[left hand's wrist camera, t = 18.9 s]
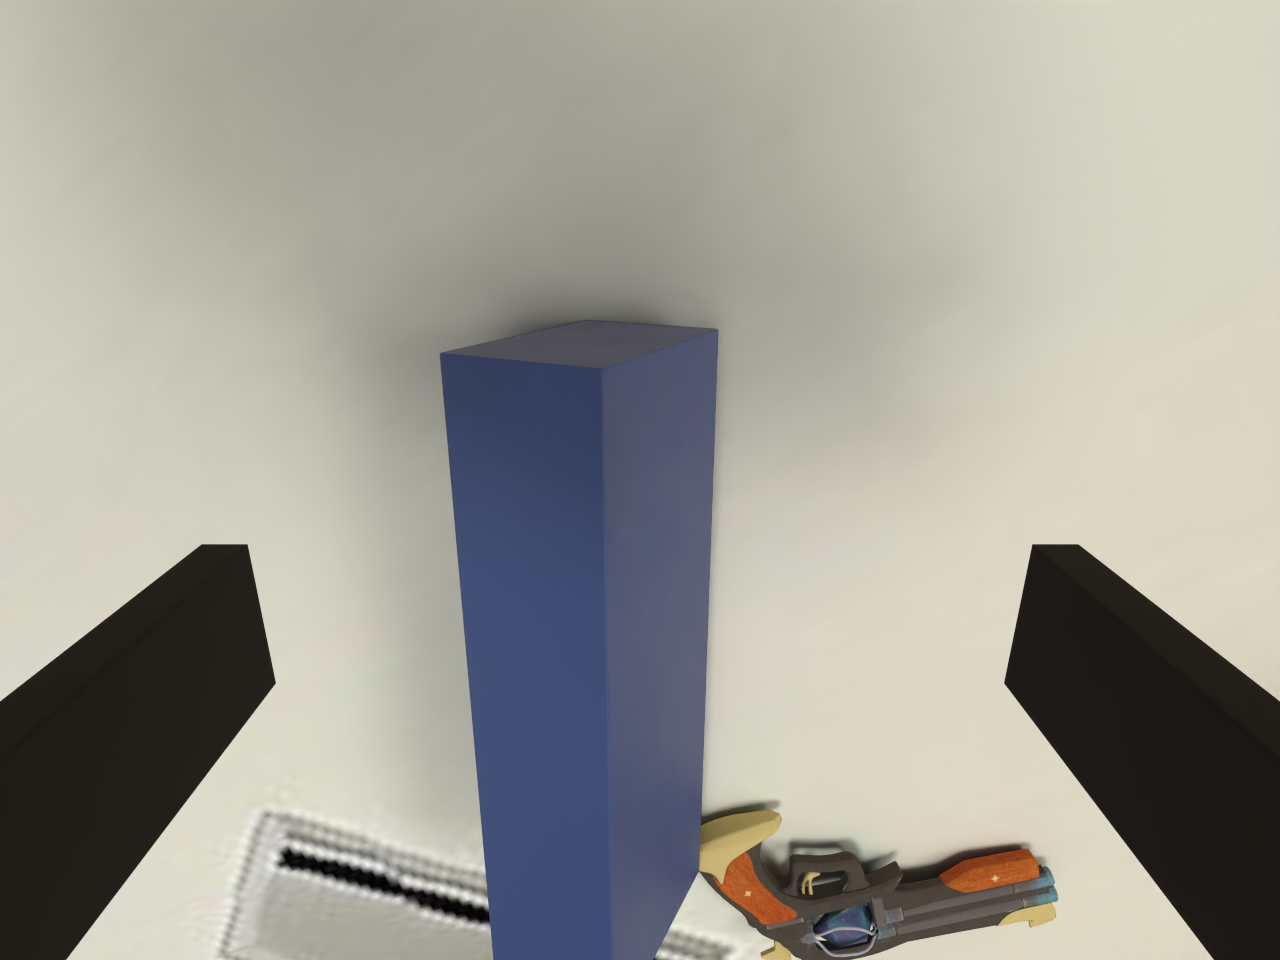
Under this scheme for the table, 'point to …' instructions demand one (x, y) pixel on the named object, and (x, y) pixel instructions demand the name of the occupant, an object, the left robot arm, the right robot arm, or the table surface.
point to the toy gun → (864, 894)
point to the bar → (585, 624)
